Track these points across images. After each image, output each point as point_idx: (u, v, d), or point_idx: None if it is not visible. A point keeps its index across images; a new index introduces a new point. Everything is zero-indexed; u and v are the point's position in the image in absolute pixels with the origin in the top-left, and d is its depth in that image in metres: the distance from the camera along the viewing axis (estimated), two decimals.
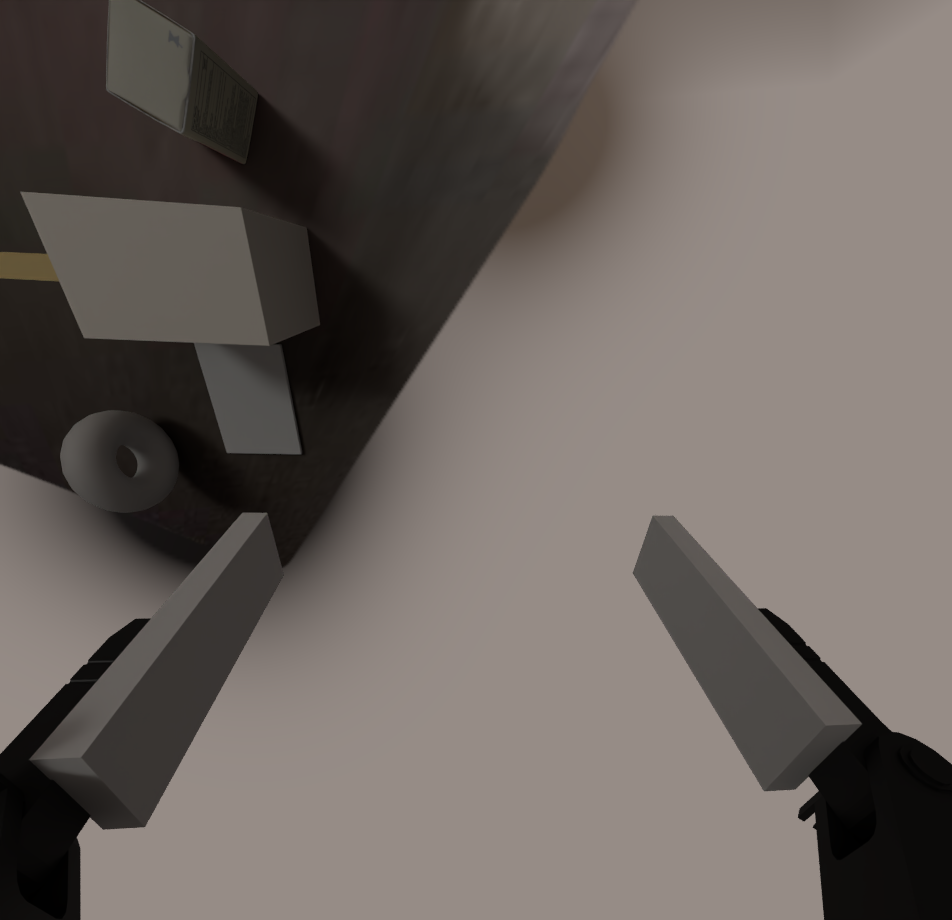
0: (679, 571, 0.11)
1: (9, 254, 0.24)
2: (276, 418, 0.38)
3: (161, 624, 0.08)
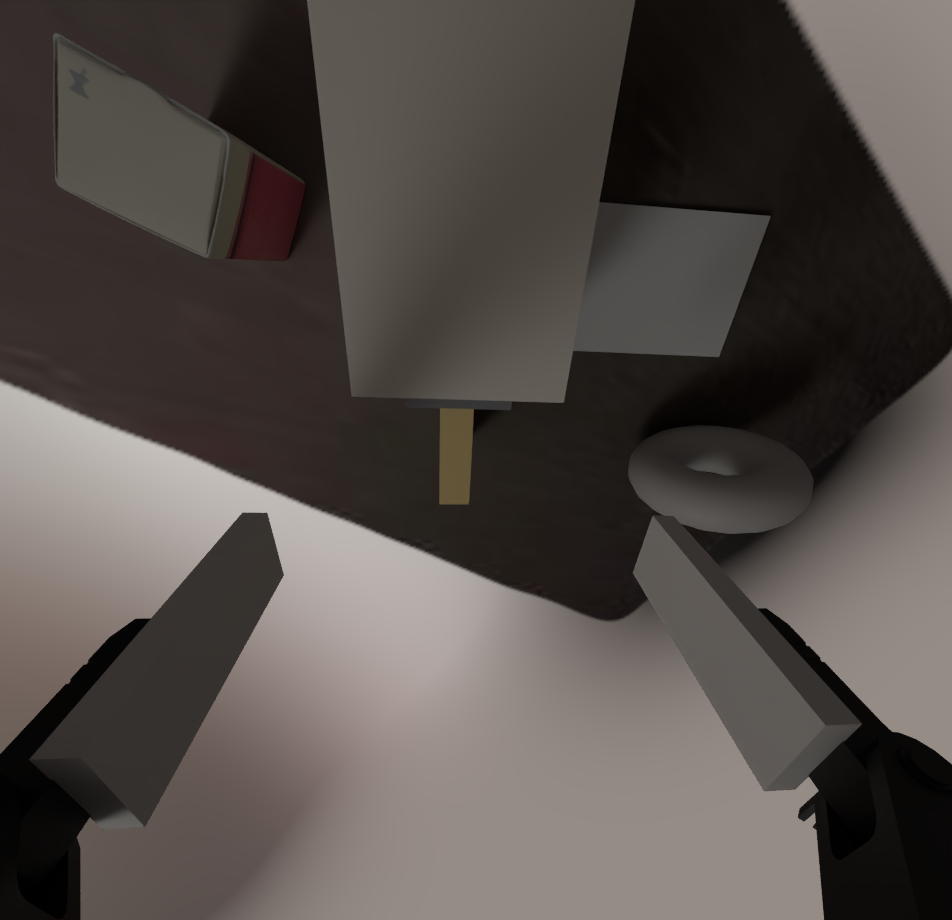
0: (679, 571, 0.11)
1: (441, 477, 0.19)
2: (690, 249, 0.21)
3: (161, 624, 0.08)
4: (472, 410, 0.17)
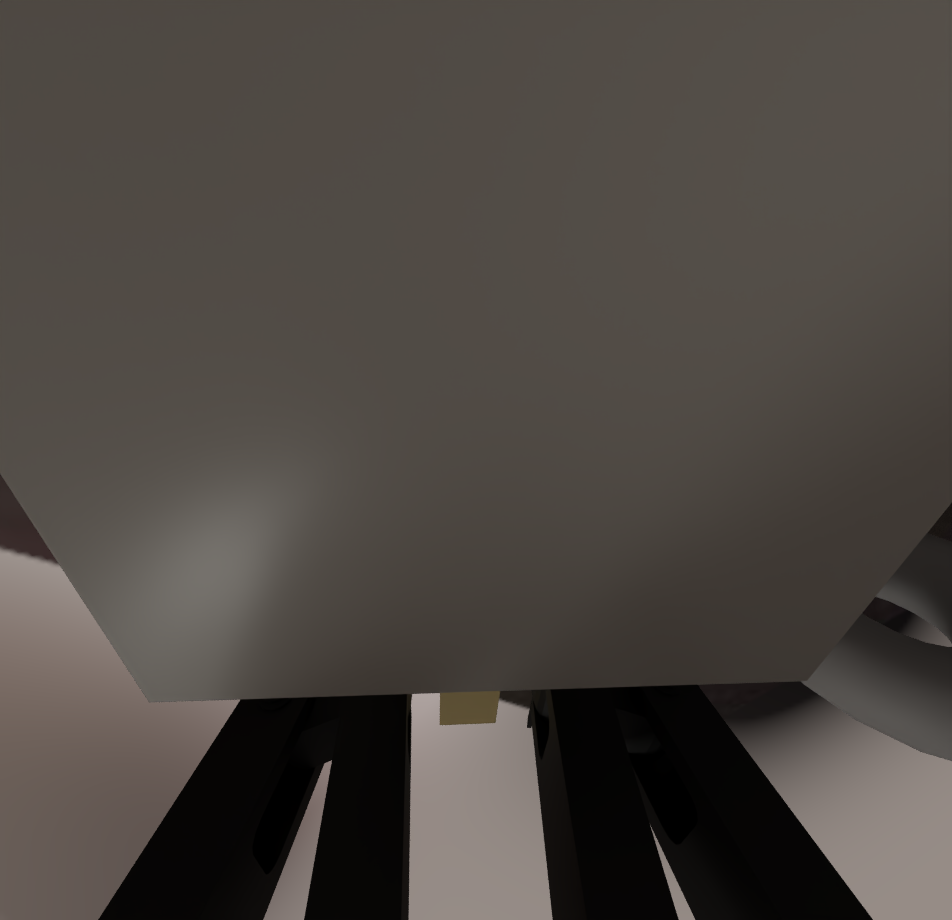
0: None
1: None
2: None
3: None
4: None
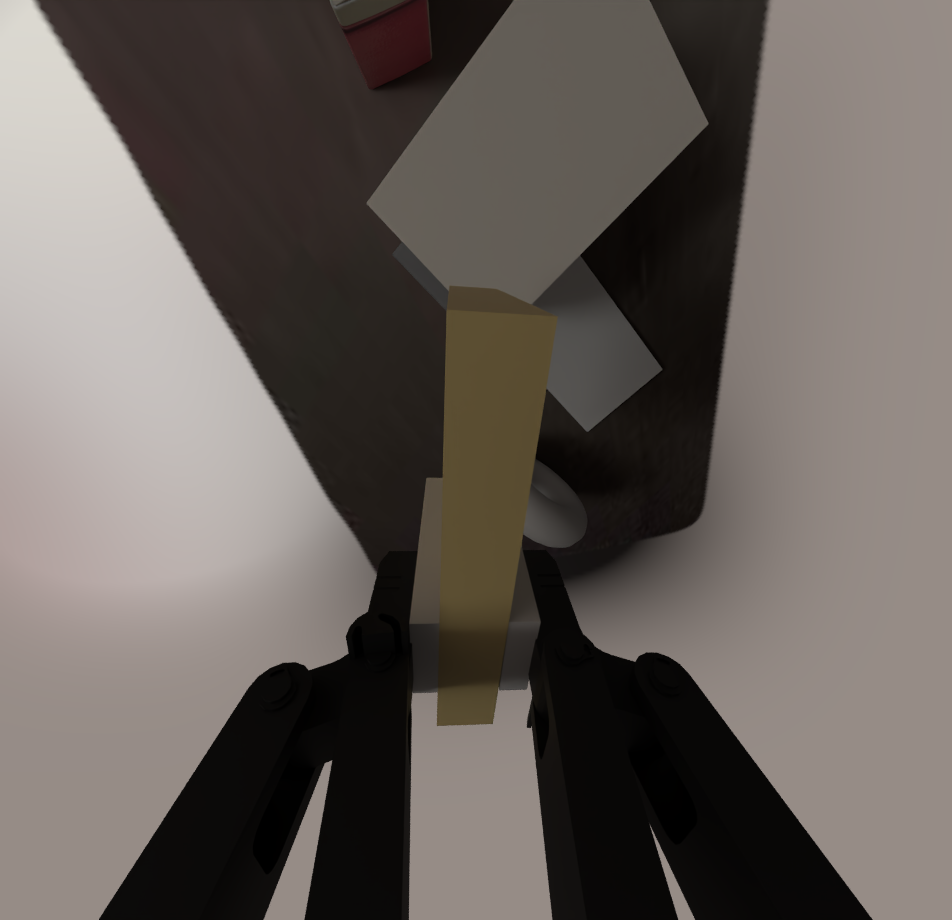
0: None
1: (441, 691, 0.09)
2: (616, 349, 0.29)
3: (429, 550, 0.10)
4: (511, 590, 0.08)
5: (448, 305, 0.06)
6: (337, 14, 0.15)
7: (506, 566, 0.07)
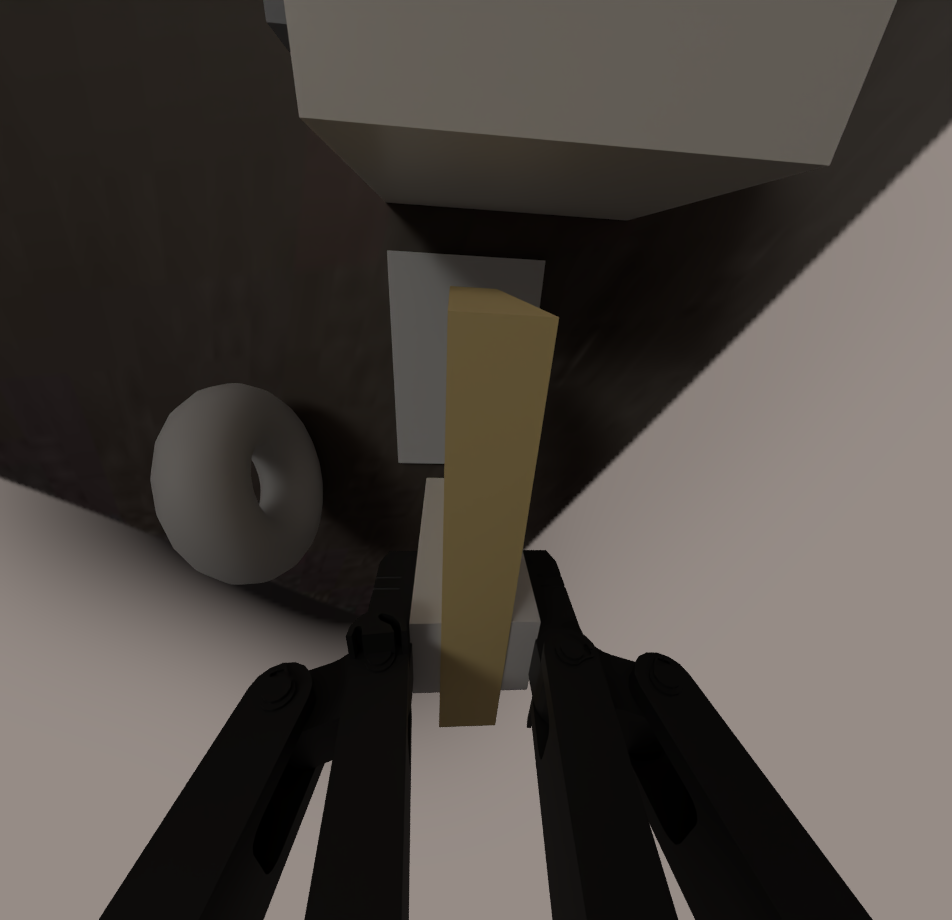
0: None
1: (443, 692, 0.09)
2: None
3: (429, 550, 0.10)
4: (512, 591, 0.08)
5: (449, 306, 0.06)
6: None
7: (508, 567, 0.07)
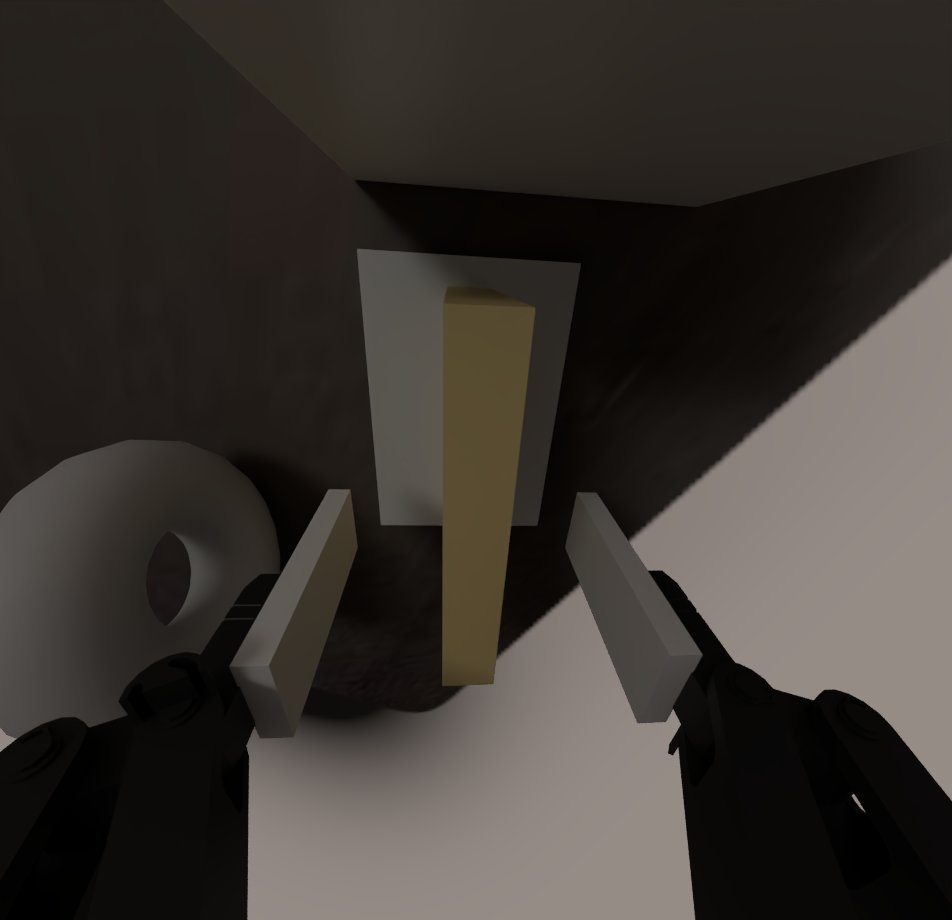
0: (592, 540, 0.12)
1: (445, 651, 0.10)
2: None
3: (294, 574, 0.09)
4: (505, 552, 0.09)
5: (444, 300, 0.07)
6: None
7: (500, 531, 0.08)
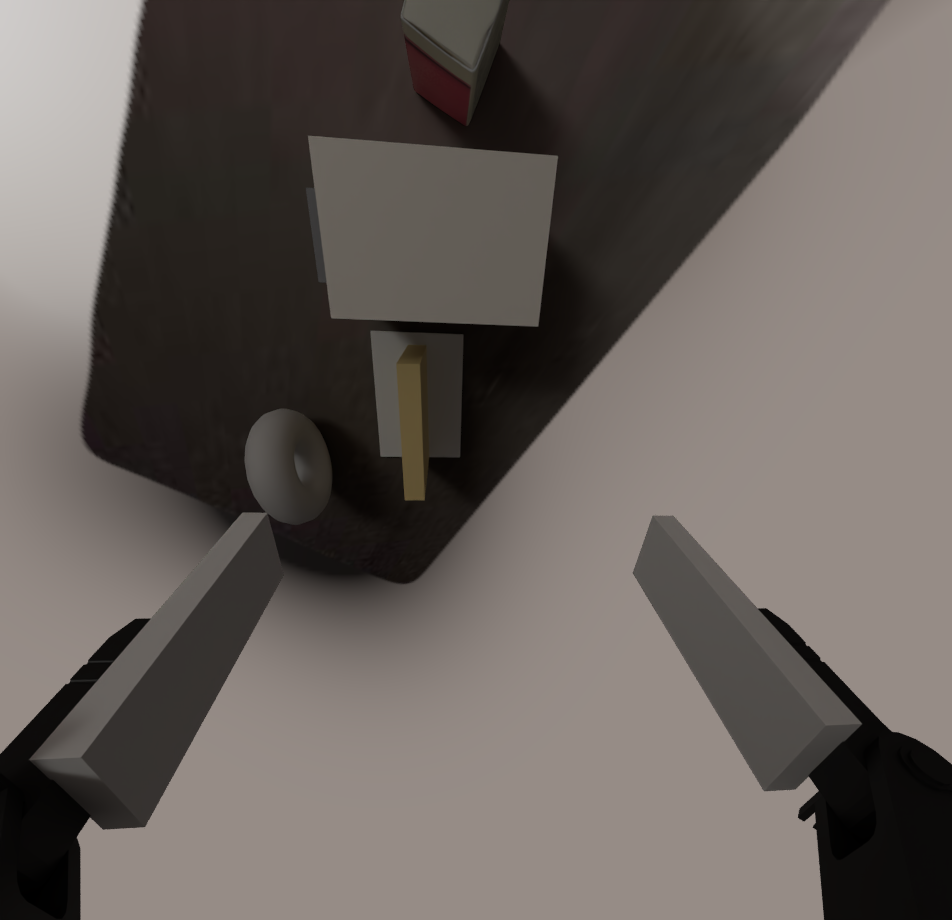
0: (679, 571, 0.11)
1: (405, 482, 0.28)
2: (441, 417, 0.35)
3: (161, 624, 0.08)
4: (421, 439, 0.27)
5: None
6: (402, 22, 0.18)
7: (418, 430, 0.27)
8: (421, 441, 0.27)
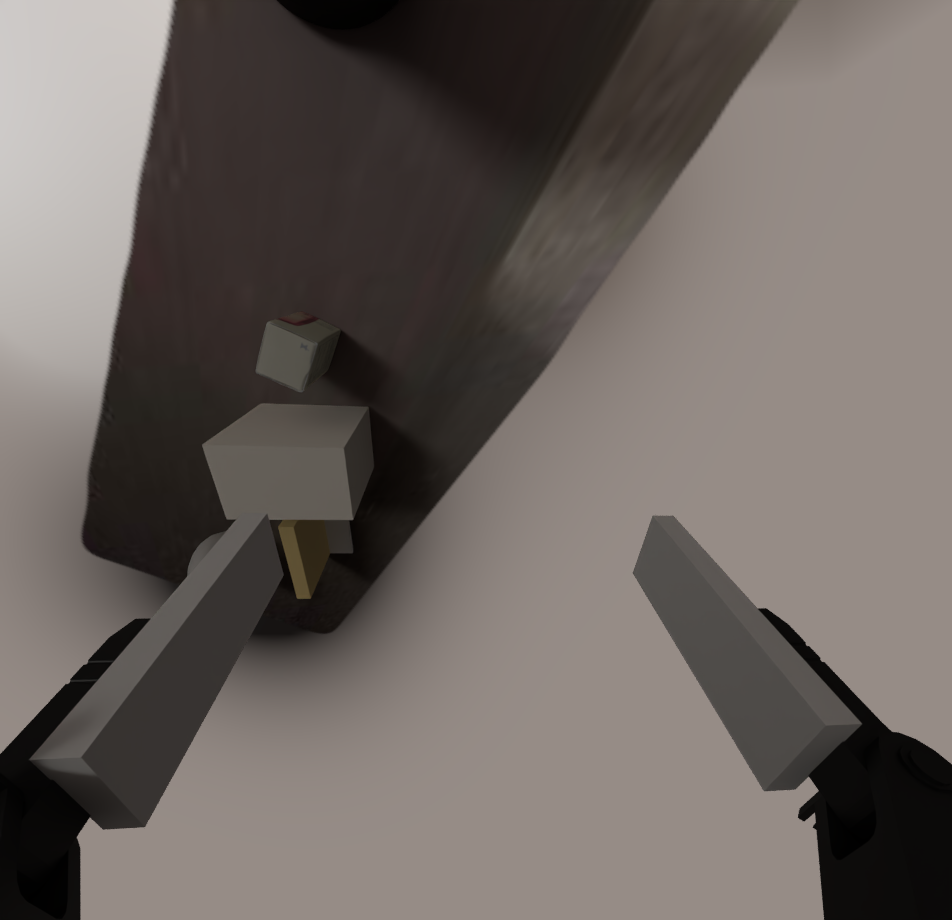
0: (679, 571, 0.11)
1: (295, 588, 0.43)
2: (335, 529, 0.49)
3: (161, 624, 0.08)
4: (302, 565, 0.41)
5: None
6: None
7: (299, 561, 0.41)
8: (302, 566, 0.41)
